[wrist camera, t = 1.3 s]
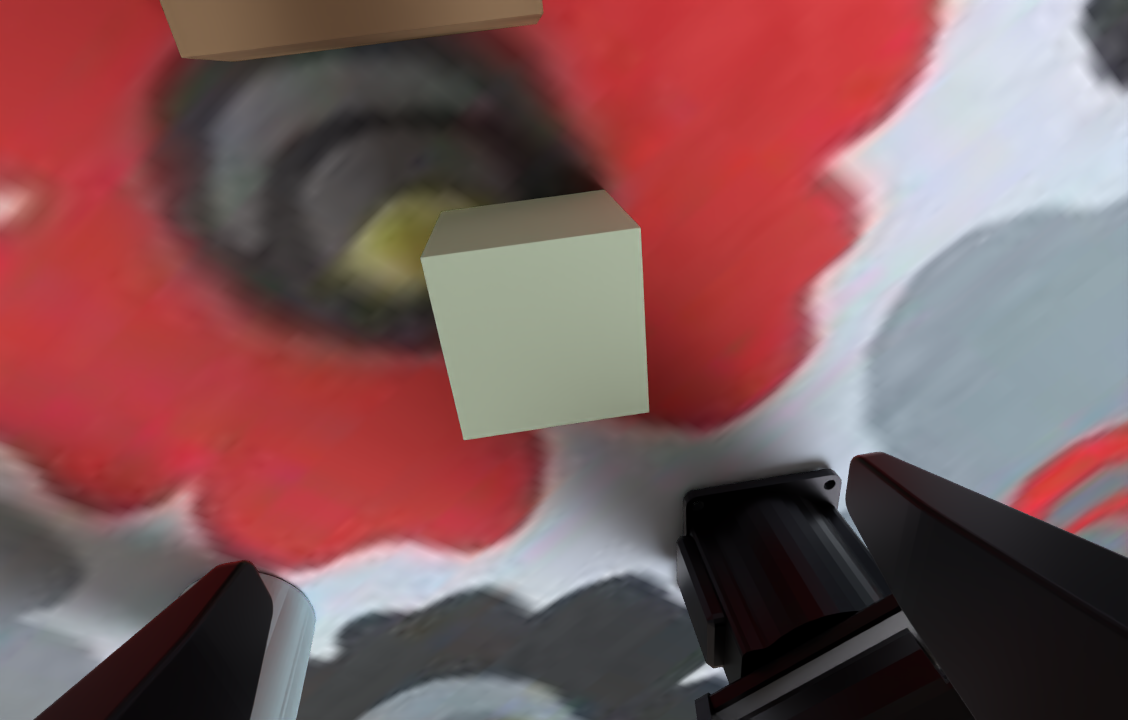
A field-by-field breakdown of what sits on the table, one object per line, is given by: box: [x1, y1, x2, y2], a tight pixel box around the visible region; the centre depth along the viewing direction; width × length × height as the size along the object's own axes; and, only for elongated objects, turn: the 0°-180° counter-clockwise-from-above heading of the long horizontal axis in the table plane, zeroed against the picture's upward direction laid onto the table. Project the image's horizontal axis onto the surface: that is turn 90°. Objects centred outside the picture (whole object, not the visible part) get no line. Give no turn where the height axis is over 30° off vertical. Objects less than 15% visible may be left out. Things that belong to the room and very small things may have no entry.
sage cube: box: [420, 190, 649, 440], centre depth 16 cm, size 5×5×5 cm
